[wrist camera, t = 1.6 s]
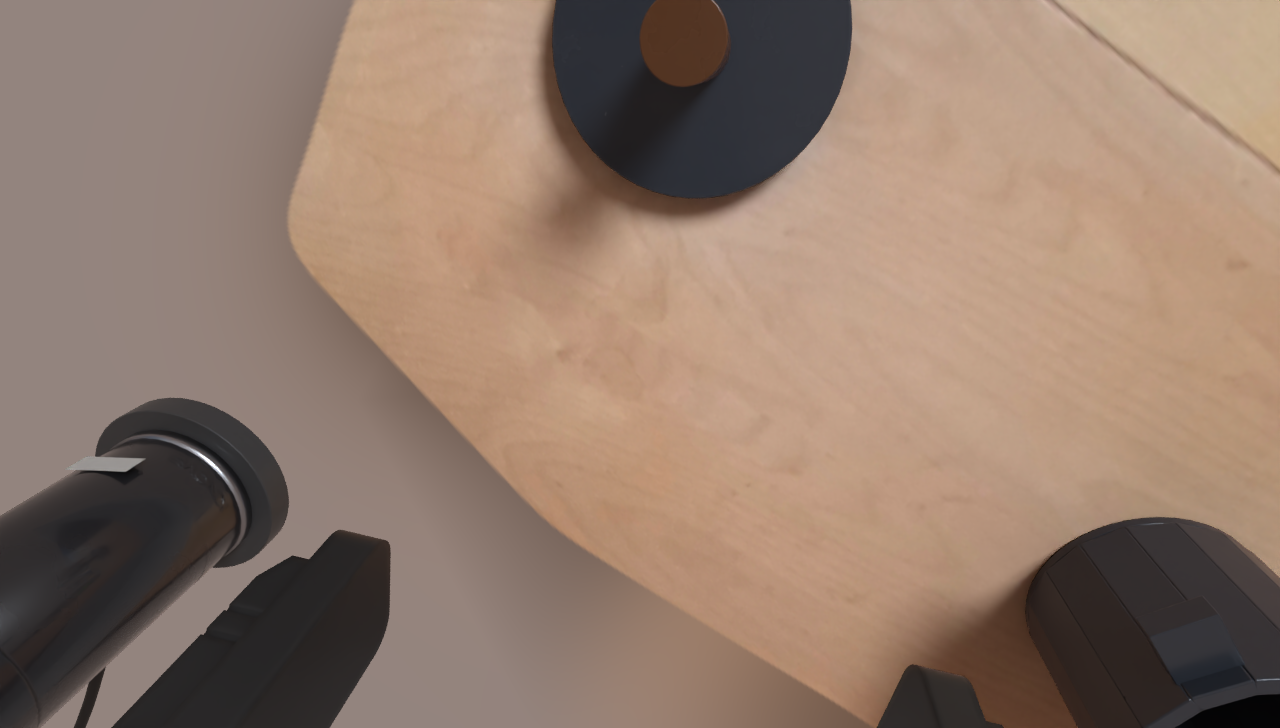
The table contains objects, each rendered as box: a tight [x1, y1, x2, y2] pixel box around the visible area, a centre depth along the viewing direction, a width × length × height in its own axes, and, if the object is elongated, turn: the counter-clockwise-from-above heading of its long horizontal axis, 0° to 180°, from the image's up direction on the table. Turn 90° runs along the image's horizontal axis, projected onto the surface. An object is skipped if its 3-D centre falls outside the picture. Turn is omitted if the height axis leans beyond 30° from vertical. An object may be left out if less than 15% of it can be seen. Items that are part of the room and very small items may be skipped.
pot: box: [1025, 517, 1280, 728], centre depth 30 cm, size 11×16×10 cm
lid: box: [552, 0, 852, 198], centre depth 23 cm, size 12×12×8 cm
